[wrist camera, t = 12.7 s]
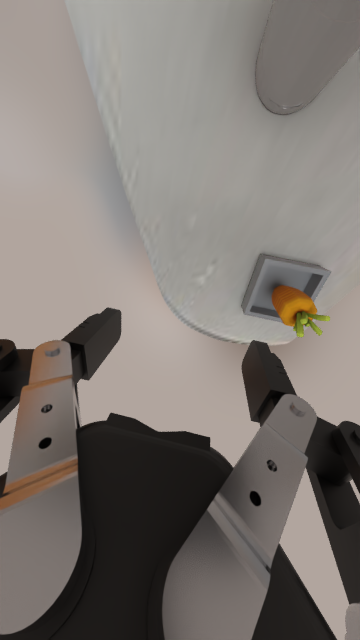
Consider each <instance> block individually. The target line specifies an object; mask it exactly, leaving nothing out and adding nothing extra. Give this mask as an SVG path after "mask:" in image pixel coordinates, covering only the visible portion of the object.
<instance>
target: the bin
mask: <svg viewBox="0 0 360 640" xmlns="http://www.w3.org/2000/svg"><path fill="white" fill-rule="evenodd" d="M330 273H331V271H329V270H327V269H325V268H323V267H321V266H318V265H313V264H308V263H303V262H298V261H293V260H288V259H283V258H278V257H273V256H268V255H263V254H260V256H259V259H258V262H257V265H256V267H255V270H254V273H253V275H252V278H251V281H250V283H249V286H248V289H247V292H246V294H245V297H244V300H243V302H242V305H241V306H242V309H243V313H244V314H245V315H250V316H254V317H259V318H264V319H268V320H273V321H278V322H282V320H281V318H280V316H279V315H278V313H277V311H276V309H275V308H274V306H273V303H272V297H271V296H272V293H273V291H274V288H276V287H278V286H280V285H284V286H290V287H293V288H296V289H298V290H300V291H302V292H303V293H305V294H306V295H307V296H309V297H310V298H311V299H312V301H313V302H314V300H315V299H316V297H317V295H318V294H319V292H320V290H321V288H322V287H323V285H324V283H325V282H326V280H327V278H328V277H329V275H330ZM282 323H283V322H282Z"/></svg>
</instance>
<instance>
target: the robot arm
mask: <svg viewBox="0 0 360 640" xmlns="http://www.w3.org/2000/svg"><path fill="white" fill-rule="evenodd" d="M359 47H360V0H274V1H273V5H272V8H271V12H270V15H269V19H268V22H267V25H266V29H265V32H264V36H263V39H262V43H261V46H260V50H259V54H258V58H257V63H256V73H255V74H256V87H257V91H258V95H259V97H260V99H261V101H262V103H263V104H264V105H265V107H266V108H268V109H269V110H270V111H272V112H274V113H277V114H290V113H293V112H296V111H298V110H300V109H302V108H303V107H305V106H306V105H307V104H309V103H310V102H311V101H312V100H313V99H314V98H315V97H316V96H317V95H318V94H319V92H320V91H321V90H322V89H323V88H324V87H325V86H326V84H327V83H328V82H329V81H330V80H331V79H332V78H333V77H334V76H335V74H336V73H337V72H338V71H339V70H340V69H341V68H342V67H343V65H344V64H345V63H346V62H347V61H348V60H349V59H350V57H351V56H352V55H353V54H354V53H355V52H356V51H357V50H358V48H359ZM120 335H121V311H120V310H116V309H112V308H106V309H105V310H104V311H103V312H102V313H100V314H95V315H92V316H90V317H88V318H87V319H86V320H85V321H83V323H81V324H80V325H79V326H78V327H76V328H75V329H74V330H73V331H71V332H70V333H69V334H68V335H67V336H65V337H64V338H63V339H62V340H53V341H48V342H45V343H43V344H41V345H39V346H38V347H36V349H16V346H15V344H14V342H13V341H11V340H7V339H0V423H1V421H2V420H3V419H4V418H5V417H6V416H7V415H8V414H9V413H10V412H11V411H12V410H13V409H14V408H15V407H16V406H17V405H18V403H19V408H18V414H17V420H16V426H15V432H14V438H13V443H12V449H11V455H10V461H9V467H8V472H6V473H4V474H3V475H1V476H0V640H337V639H336V637H335V635H334V634H333V632H332V631H331V629H330V627H329V625H328V624H327V622H326V620H325V619H324V617H323V615H322V614H321V612H320V611H319V609H318V607H317V606H316V604H315V602H314V600H313V599H312V597H311V595H310V594H309V592H308V590H307V589H306V587H305V586H304V584H303V582H302V581H301V579H300V577H299V575H298V574H297V572H296V570H295V569H294V567H293V566H292V564H291V562H290V560H289V559H288V557H287V555H286V554H285V552H284V551H283V549H282V547H281V546H280V544H279V541H280V538H281V535H282V532H283V529H284V526H285V524H286V521H287V518H288V515H289V512H290V509H291V507H292V504H293V501H294V498H295V495H296V492H297V489H298V487H299V484H300V481H301V478H302V475H303V473H304V469H305V467H306V469H307V472H308V475H309V478H310V482H311V484H312V488H313V491H314V494H315V497H316V501H317V504H318V507H319V510H320V513H321V516H322V519H323V523H324V526H325V529H326V532H327V535H328V538H329V541H330V545H331V548H332V551H333V554H334V557H335V560H336V564H337V567H338V570H339V573H340V576H341V579H342V582H343V585H344V589H345V592H346V595H347V598H348V601H349V604H350V605H349V607H348V609H347V611H346V631H347V633H346V635H345V640H360V504H359V501H358V499H357V497H356V495H355V493H354V491H353V488H352V486H351V484H350V482H349V481H351V480H352V479H353V481H354V483H355V485H356V487H357V489H358V491H359V493H360V426H359V425H357V424H355V423H353V422H349V421H343V422H341V423H340V424H339V425H338V426H335V425H333V424H331V423H329V422H327V421H325V420H323V419H321V418H319V417H317V415H316V413H315V411H314V409H313V408H312V407H311V406H310V405H309V404H308V403H307V402H306V401H305V400H303V399H302V398H300V397H298V396H297V395H296V393H295V390H294V388H293V386H292V384H291V382H290V380H289V377H288V376H287V373H286V371H285V369H284V367H283V364H282V362H281V360H280V359H279V358H278V357H277V356H276V355H275V354H274V353H271V352H270V349H269V347H268V345H267V343H264V342H259V341H255V340H253V341H252V342H251V343H250V346H249V348H248V350H247V352H246V354H245V357H244V359H243V362H242V374H243V379H244V384H245V390H246V396H247V400H248V406H249V412H250V417H251V421H254V422H258V423H260V427H261V428H260V430H259V431H258V432H257V434H256V435H255V437H254V438H253V440H252V441H251V443H250V444H249V446H248V447H247V449H246V450H245V452H244V453H243V454H242V456H241V457H240V459H239V460H238V462H237V464H236V465H235V467H234V468H233V467H232V465H231V464H230V463H229V462H228V461H227V460H226V459H225V458H224V457H223V456H222V455H221V454H220V453H219V452H217V451H216V450H215V449H213V448H212V447H210V437H206V436H202V435H198V434H194V433H190V432H186V431H178V432H158V431H155V430H154V429H152V428H150V427H148V426H147V425H145V424H143V423H141V422H140V421H138V420H136V419H134V418H130V417H126V416H122V415H118V414H114V413H110V415H109V417H108V419H107V421H98V422H94V423H90V424H87V425H84V426H82V425H81V418H80V409H79V398H78V388H77V383H78V381H79V380H80V379H84V380H89V379H90V378H91V377H92V376H93V374H94V373H95V372H96V370H97V369H98V368H99V366H100V365H101V363H102V362H103V361H104V359H105V358H106V357H107V355H108V354H109V353H110V351H111V350H112V349H113V347H114V346H115V345H116V343H117V342H118V340H119V338H120Z"/></svg>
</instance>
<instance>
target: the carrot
mask: <svg viewBox="0 0 360 640" xmlns="http://www.w3.org/2000/svg"><path fill="white" fill-rule="evenodd" d="M271 297H272V303H273V306H274V308H275V309H276V311H277V313H278V315H279V316H280V318H281V320H282V322H283V323H284V324H285V325H288V326H293V327H294V328H293V331H296V333H297V336H299V337H303V336H304V329H303V325H305V326H306V327H309V326H311V327H312V329H313V330H314V331H315V332H316V333H317V334H318V335H319V336H320V335H321V334H322V331H321V330H320V329H319V328H318V327H317V326H316V325H315V324H314V323H313V322H312V320H313V319H316V320H320V321H329V320H330V317H329V316H323V315H316V313H317V309H316V307H315V305H314V303H313V301H312V299H311V298H310V297H309V296H307V295H306V294H305V293H303V292H302V291H300V290H298V289H296V288H293V287H290V286H284V285H280V286H278V287H276V288H274V291H273V293H272V296H271Z"/></svg>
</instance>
